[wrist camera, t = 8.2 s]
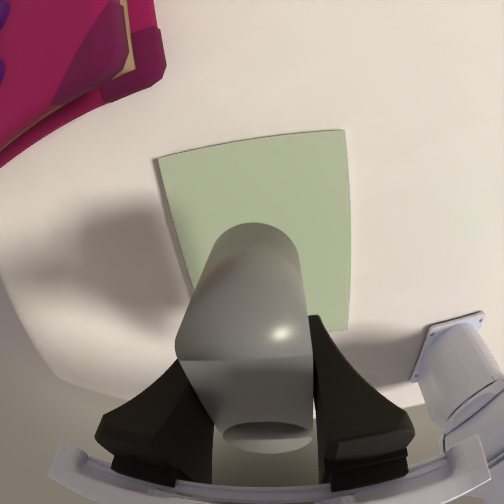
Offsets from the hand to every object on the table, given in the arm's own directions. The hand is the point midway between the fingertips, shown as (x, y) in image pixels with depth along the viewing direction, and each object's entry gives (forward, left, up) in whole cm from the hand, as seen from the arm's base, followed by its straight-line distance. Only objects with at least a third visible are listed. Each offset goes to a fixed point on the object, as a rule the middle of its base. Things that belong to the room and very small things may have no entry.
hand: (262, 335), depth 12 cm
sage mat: (0, 0, -8) cm, 8 cm away
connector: (-1, 0, -1) cm, 2 cm away
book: (+23, +19, -9) cm, 31 cm away
